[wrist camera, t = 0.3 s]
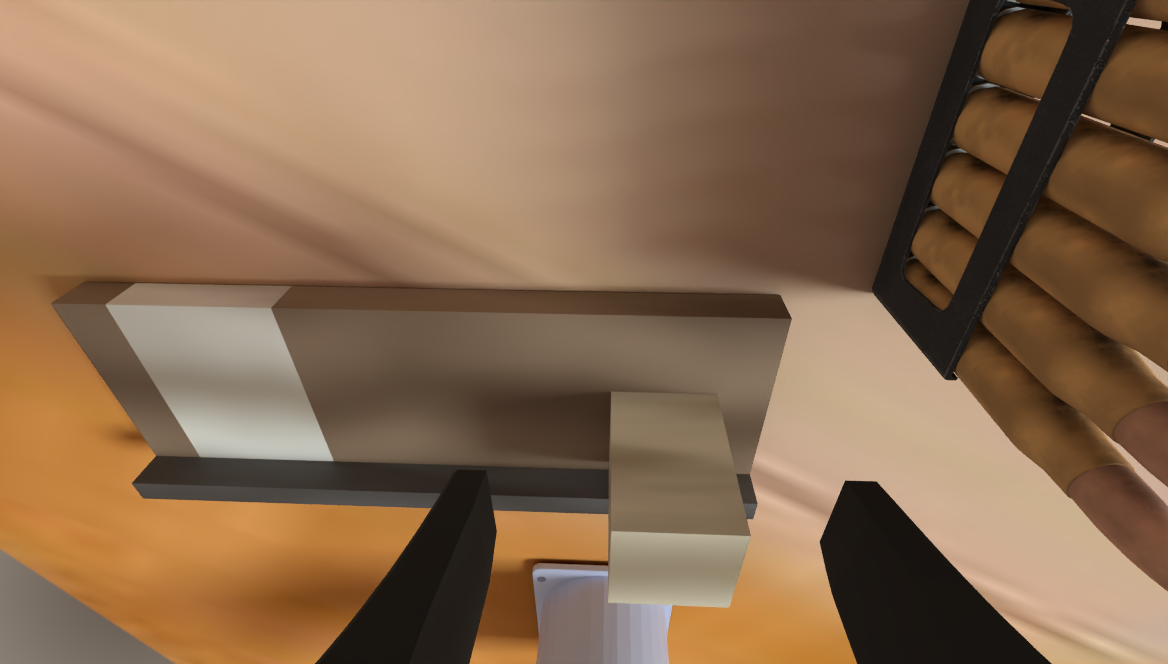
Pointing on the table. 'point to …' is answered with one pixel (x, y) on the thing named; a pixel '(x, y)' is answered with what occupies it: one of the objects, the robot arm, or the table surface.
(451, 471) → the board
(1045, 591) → the table surface
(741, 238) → the table surface
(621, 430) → the block
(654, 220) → the table surface
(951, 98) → the ammunition clip
